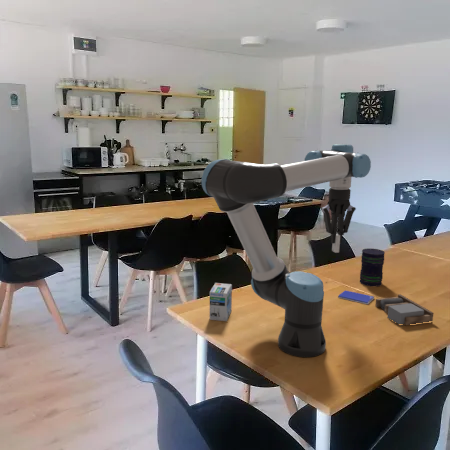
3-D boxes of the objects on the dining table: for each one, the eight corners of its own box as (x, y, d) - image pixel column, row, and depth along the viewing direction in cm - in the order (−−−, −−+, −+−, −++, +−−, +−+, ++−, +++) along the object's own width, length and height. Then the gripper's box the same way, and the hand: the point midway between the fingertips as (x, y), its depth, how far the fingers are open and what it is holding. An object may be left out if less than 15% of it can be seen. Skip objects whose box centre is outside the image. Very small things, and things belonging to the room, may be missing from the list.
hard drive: (374, 296, 189) (345, 289, 196) (367, 302, 183) (338, 295, 190) (374, 299, 189) (345, 293, 196) (367, 305, 183) (338, 298, 190)
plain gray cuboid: (399, 326, 164) (400, 313, 163) (387, 318, 170) (388, 305, 169) (422, 323, 167) (424, 310, 166) (409, 315, 173) (411, 303, 172)
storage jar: (381, 287, 202) (384, 255, 199) (358, 284, 205) (361, 252, 202) (381, 280, 211) (384, 249, 208) (359, 278, 215) (362, 247, 211)
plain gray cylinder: (385, 311, 176) (386, 301, 175) (379, 307, 180) (380, 298, 179) (403, 309, 178) (404, 300, 178) (397, 306, 182) (398, 296, 181)
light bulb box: (226, 321, 165) (227, 293, 162) (208, 320, 166) (209, 292, 164) (231, 310, 175) (232, 283, 173) (214, 308, 176) (215, 282, 174)
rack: (405, 326, 163) (407, 315, 162) (375, 306, 181) (376, 296, 180) (432, 323, 166) (433, 312, 165) (399, 303, 184) (400, 294, 183)
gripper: (328, 189, 158) (324, 255, 163) (361, 189, 161) (356, 253, 166) (318, 187, 165) (314, 249, 170) (350, 186, 168) (346, 248, 174)
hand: (335, 251), depth 168 cm, fingers closed
